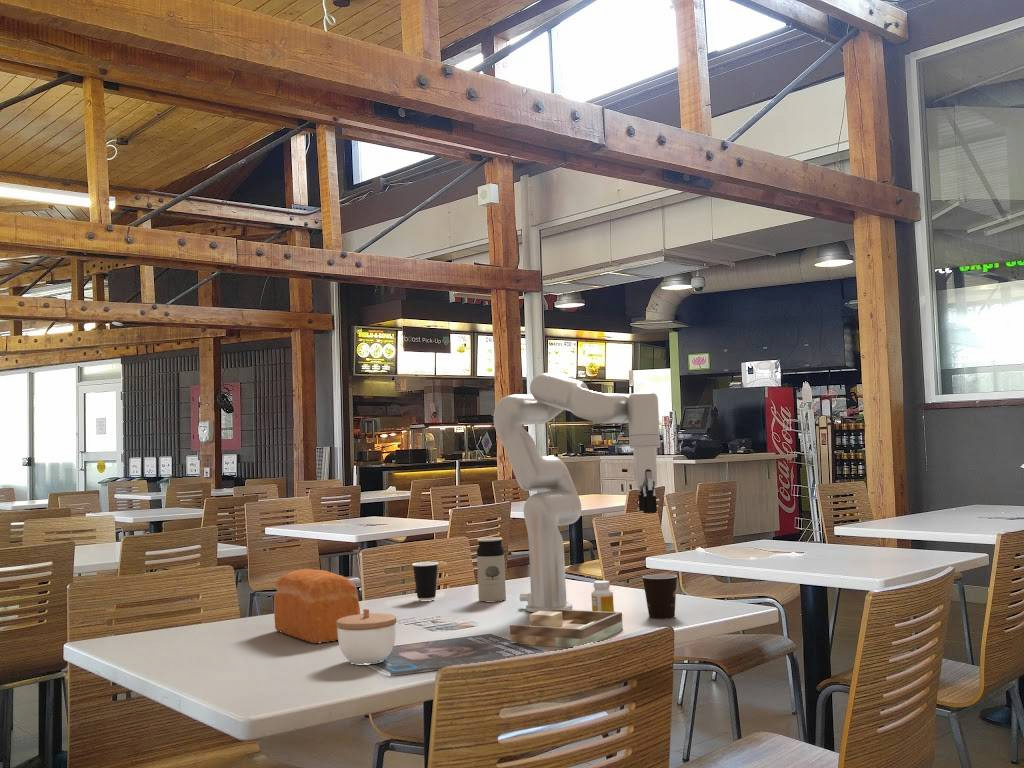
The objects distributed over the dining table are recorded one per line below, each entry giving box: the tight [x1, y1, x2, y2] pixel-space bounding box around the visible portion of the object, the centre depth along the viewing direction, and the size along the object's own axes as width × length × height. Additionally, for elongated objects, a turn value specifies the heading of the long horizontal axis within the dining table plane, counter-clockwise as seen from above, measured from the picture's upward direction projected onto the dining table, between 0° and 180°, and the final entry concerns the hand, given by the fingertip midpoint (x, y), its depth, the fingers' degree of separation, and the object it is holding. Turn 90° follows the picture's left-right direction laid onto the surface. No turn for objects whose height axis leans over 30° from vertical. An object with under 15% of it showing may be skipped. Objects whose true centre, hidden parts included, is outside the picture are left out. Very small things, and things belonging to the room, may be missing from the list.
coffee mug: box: [642, 573, 678, 620], centre depth 236 cm, size 12×9×10 cm
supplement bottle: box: [591, 580, 615, 612], centre depth 232 cm, size 5×5×10 cm
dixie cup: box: [411, 561, 439, 601], centre depth 278 cm, size 8×8×11 cm
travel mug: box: [476, 536, 507, 602], centre depth 273 cm, size 8×8×18 cm
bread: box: [273, 568, 361, 644], centre depth 232 cm, size 14×26×16 cm, turn 35°
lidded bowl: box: [336, 608, 397, 664], centre depth 197 cm, size 13×13×11 cm
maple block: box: [529, 611, 563, 627], centre depth 218 cm, size 6×5×3 cm
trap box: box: [509, 609, 624, 649], centre depth 215 cm, size 18×22×4 cm
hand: (647, 511), depth 229 cm, fingers open, 9 cm apart
